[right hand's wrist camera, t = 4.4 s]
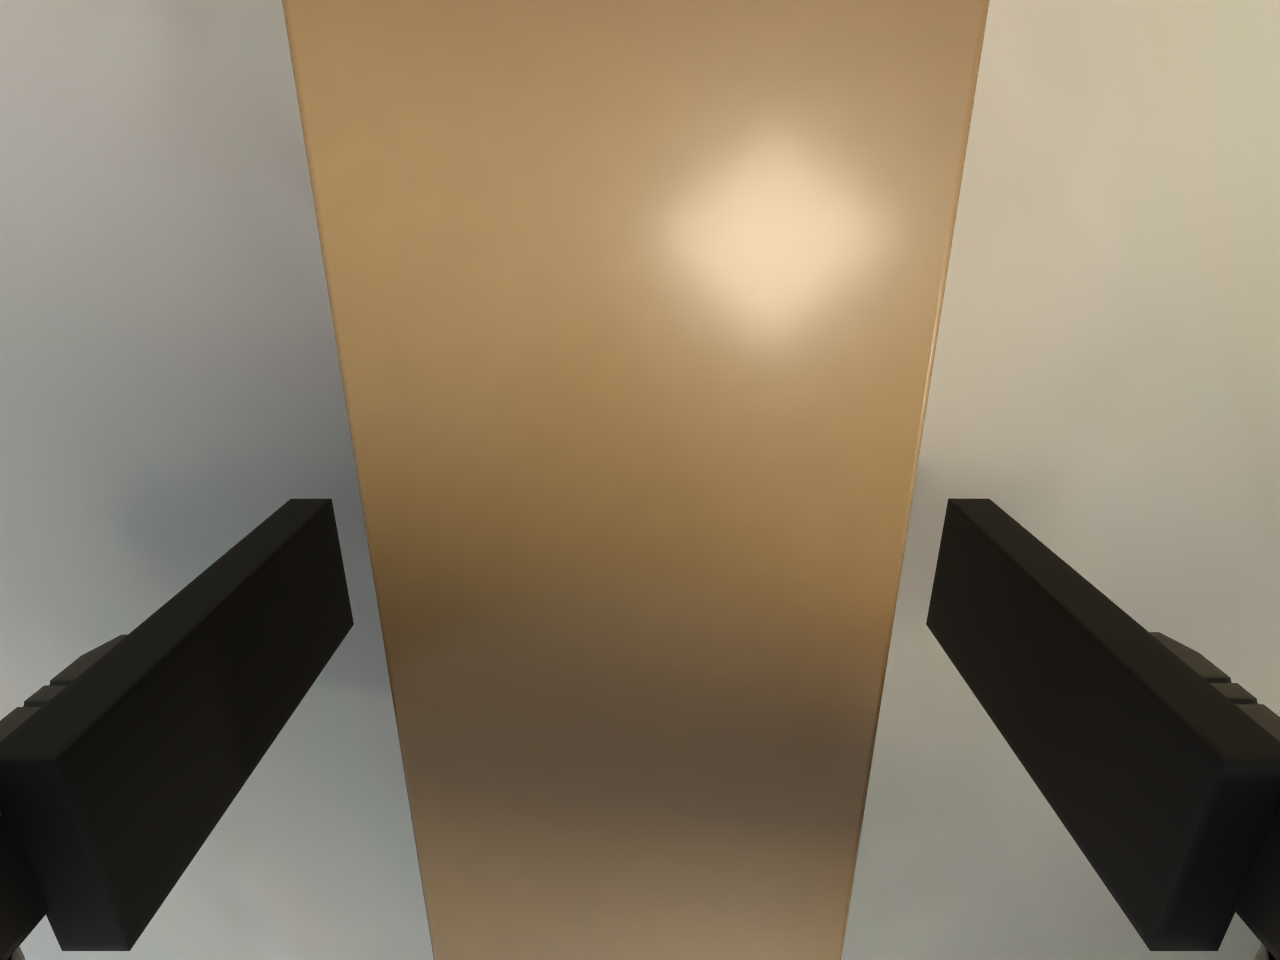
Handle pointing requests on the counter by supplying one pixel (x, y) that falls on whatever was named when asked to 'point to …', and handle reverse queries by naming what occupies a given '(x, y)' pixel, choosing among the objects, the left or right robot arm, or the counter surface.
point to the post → (636, 436)
